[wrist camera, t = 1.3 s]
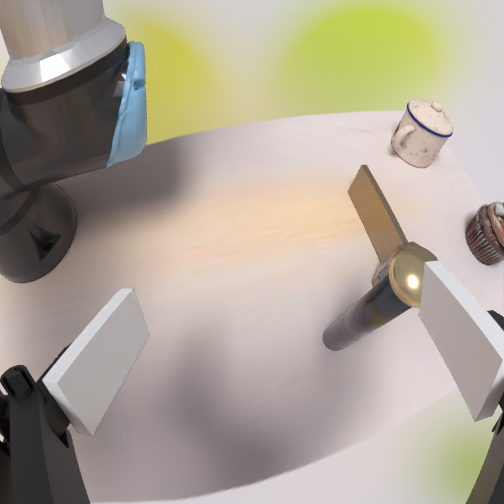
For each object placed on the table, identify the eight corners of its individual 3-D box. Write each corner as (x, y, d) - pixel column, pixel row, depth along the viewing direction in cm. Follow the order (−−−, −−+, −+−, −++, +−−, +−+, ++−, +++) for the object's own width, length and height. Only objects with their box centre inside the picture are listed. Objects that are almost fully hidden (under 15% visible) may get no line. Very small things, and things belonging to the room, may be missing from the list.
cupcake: (506, 260, 42) (542, 231, 33) (480, 278, 39) (521, 248, 31) (480, 214, 46) (512, 181, 37) (452, 227, 43) (487, 190, 34)
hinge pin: (313, 326, 35) (386, 252, 19) (345, 316, 35) (429, 240, 19) (324, 359, 33) (410, 310, 17) (355, 348, 34) (453, 292, 18)
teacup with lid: (409, 130, 54) (432, 86, 43) (439, 163, 50) (469, 120, 40) (369, 141, 50) (392, 89, 40) (402, 178, 47) (434, 128, 36)
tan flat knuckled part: (332, 194, 43) (345, 166, 38) (366, 189, 45) (381, 163, 39) (383, 312, 36) (406, 295, 31) (417, 299, 37) (442, 282, 32)
